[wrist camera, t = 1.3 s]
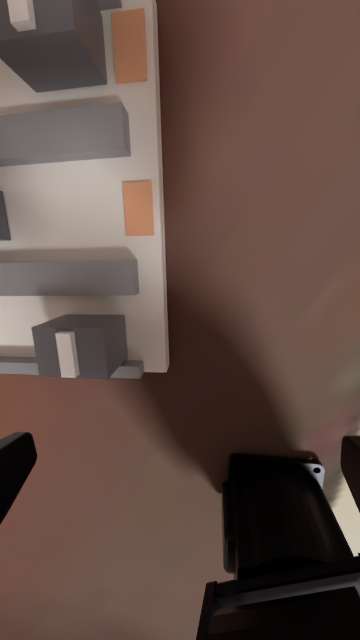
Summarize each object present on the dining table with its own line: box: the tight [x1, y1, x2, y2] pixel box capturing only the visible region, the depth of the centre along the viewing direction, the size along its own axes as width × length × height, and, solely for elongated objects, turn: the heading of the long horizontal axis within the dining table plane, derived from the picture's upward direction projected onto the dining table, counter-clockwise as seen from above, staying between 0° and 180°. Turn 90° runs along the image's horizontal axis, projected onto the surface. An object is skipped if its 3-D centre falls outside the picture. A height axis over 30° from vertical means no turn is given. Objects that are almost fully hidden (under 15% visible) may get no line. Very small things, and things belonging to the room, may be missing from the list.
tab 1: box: [0, 0, 107, 93], centre depth 11 cm, size 4×3×4 cm
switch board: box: [0, 0, 169, 379], centre depth 15 cm, size 16×20×2 cm
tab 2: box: [31, 314, 128, 379], centre depth 15 cm, size 4×3×4 cm
